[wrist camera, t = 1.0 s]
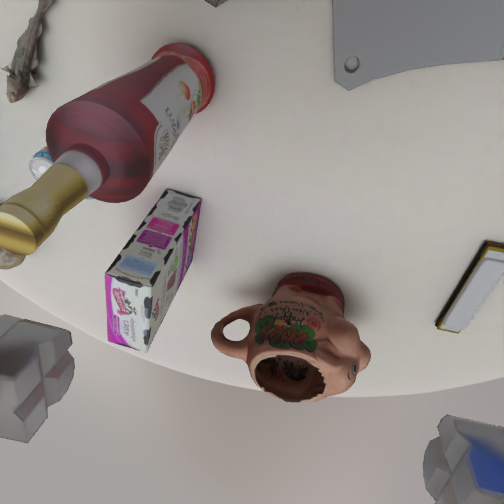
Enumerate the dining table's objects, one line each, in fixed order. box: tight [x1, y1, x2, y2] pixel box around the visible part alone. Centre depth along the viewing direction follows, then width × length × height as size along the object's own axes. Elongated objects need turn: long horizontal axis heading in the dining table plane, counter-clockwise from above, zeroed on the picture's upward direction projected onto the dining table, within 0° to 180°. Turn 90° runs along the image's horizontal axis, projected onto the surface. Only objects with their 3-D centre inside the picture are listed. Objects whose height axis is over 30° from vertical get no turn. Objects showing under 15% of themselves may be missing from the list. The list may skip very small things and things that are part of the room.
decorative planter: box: [211, 273, 371, 402], centre depth 53 cm, size 20×12×14 cm, turn 93°
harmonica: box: [435, 241, 504, 333], centre depth 51 cm, size 15×3×2 cm, turn 174°
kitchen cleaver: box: [333, 0, 504, 91], centre depth 34 cm, size 24×1×10 cm
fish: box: [1, 0, 53, 103], centre depth 42 cm, size 13×4×5 cm
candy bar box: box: [105, 189, 201, 353], centre depth 48 cm, size 11×5×16 cm, turn 168°
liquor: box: [0, 43, 215, 255], centre depth 31 cm, size 7×7×28 cm
